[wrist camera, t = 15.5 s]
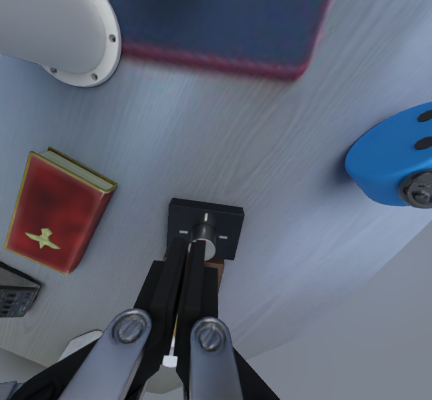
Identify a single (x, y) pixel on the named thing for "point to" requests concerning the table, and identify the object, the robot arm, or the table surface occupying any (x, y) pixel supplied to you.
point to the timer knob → (204, 234)
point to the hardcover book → (57, 210)
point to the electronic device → (15, 292)
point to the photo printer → (80, 343)
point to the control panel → (210, 215)
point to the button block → (210, 265)
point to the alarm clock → (396, 159)
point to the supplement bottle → (171, 353)
